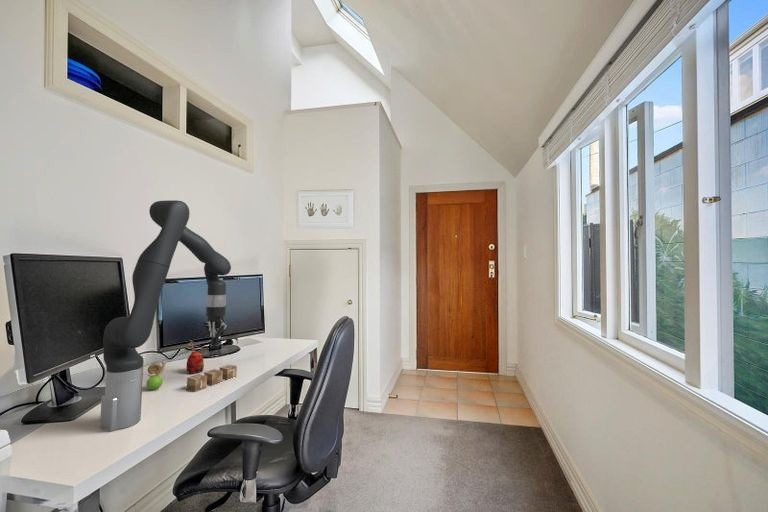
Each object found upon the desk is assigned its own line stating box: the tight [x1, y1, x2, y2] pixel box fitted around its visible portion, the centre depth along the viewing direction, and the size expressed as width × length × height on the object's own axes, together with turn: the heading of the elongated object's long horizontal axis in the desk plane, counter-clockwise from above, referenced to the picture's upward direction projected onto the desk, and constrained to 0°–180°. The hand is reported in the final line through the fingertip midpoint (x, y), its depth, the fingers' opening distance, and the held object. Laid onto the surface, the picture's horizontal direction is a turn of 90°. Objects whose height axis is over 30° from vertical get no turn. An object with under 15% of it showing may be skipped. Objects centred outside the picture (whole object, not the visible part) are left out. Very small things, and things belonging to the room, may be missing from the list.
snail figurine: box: [145, 357, 167, 391], centre depth 131 cm, size 5×6×12 cm
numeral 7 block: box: [218, 364, 238, 381], centre depth 145 cm, size 5×5×5 cm
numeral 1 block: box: [186, 373, 208, 393], centre depth 132 cm, size 5×5×5 cm
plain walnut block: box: [203, 368, 223, 387], centre depth 138 cm, size 5×5×5 cm
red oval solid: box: [185, 339, 205, 375], centre depth 152 cm, size 8×7×15 cm
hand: (214, 345), depth 139 cm, fingers closed
